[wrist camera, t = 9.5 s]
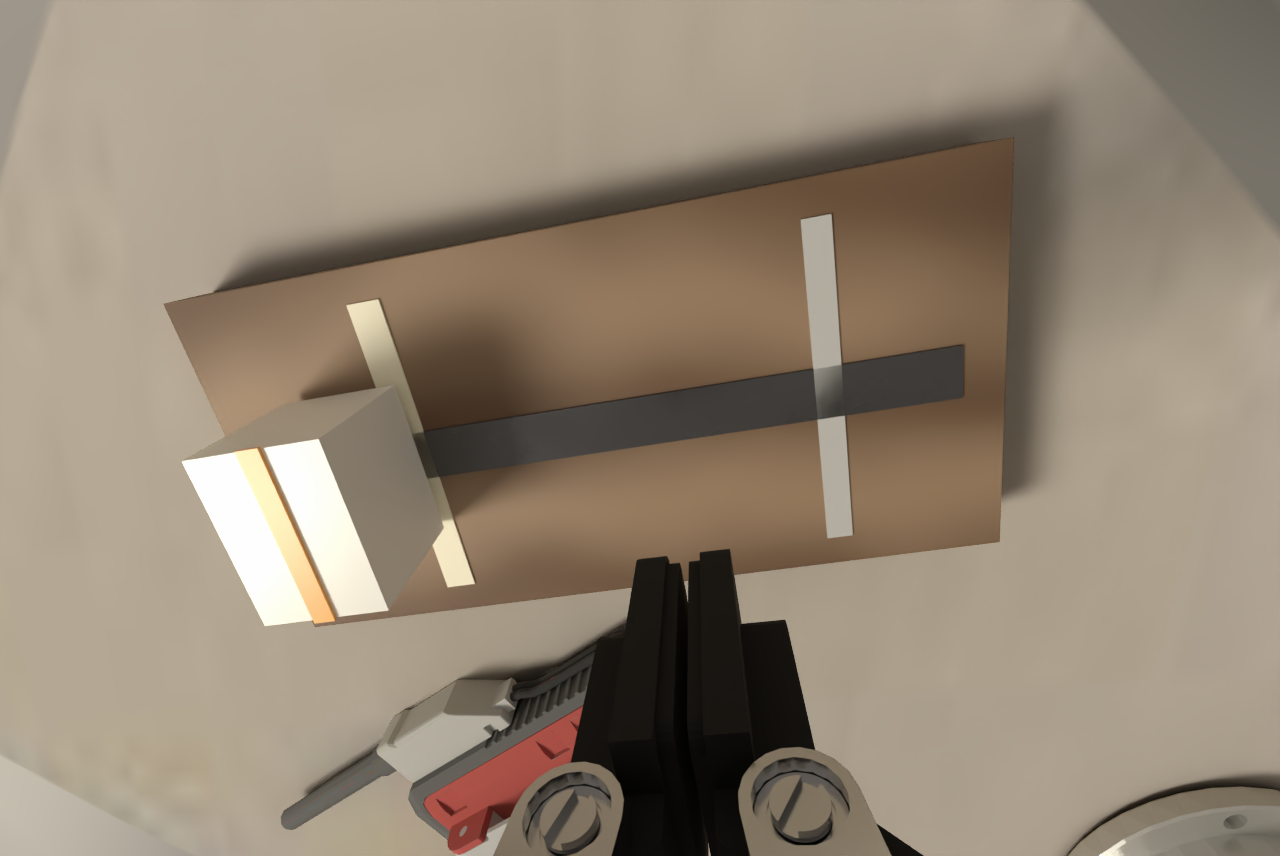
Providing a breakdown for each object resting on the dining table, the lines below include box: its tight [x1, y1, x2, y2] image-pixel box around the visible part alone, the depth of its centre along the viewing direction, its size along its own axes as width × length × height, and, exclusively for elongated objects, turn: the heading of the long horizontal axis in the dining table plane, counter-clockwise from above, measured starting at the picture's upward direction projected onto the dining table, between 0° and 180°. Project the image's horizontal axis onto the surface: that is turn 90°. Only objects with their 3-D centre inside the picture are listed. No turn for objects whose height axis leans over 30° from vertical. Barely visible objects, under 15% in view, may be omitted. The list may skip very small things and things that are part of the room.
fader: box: [182, 385, 444, 626], centre depth 17 cm, size 5×4×4 cm
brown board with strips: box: [164, 138, 1014, 627], centre depth 20 cm, size 12×24×2 cm, turn 101°
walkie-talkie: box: [281, 630, 625, 856], centre depth 25 cm, size 9×4×20 cm
